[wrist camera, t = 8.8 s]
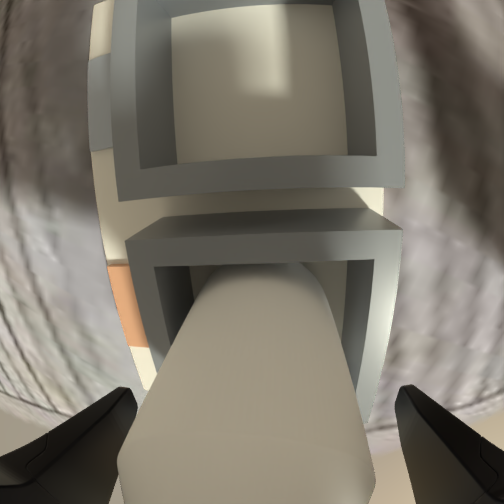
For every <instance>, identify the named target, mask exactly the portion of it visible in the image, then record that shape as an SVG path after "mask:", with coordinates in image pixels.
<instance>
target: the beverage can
mask: <svg viewBox="0 0 504 504" xmlns="http://www.w3.org/2000/svg"><path fill="white" fill-rule="evenodd" d="M117 467H118V473H119V479H120V485H121V490H122V494H123V500H124V504H368V503H369V500H370V498H371V496H372V493H373V490H374V488H375V482H376V479H375V473H374V468H373V464H372V459H371V454H370V450H369V446H368V441H367V437H366V433H365V429H364V425H363V421H362V417H361V413H360V409H359V405H358V401H357V398H356V394H355V390H354V386H353V383H352V379H351V376H350V372H349V368H348V365H347V361H346V358H345V355H344V351H343V348H342V344H341V341H340V338H339V334H338V331H337V328H336V325H335V321H334V318H333V315H332V312H331V309H330V306H329V303H328V300H327V297H326V295H325V292H324V290H323V288H322V286H321V284H320V283H319V281H318V280H317V279H316V277H315V276H314V275H313V274H312V273H311V272H310V271H309V270H308V269H307V268H306V267H304V266H303V265H302V264H300V263H298V262H291V263H263V264H232V265H221V266H220V267H219V268H218V269H217V270H215V271H214V272H213V273H212V274H211V276H210V277H209V278H208V279H207V281H206V282H205V284H204V286H203V287H202V289H201V291H200V293H199V294H198V296H197V298H196V300H195V302H194V304H193V306H192V307H191V309H190V311H189V313H188V315H187V317H186V319H185V321H184V323H183V325H182V326H181V328H180V330H179V332H178V334H177V336H176V338H175V340H174V342H173V344H172V346H171V348H170V350H169V352H168V354H167V356H166V358H165V359H164V361H163V363H162V365H161V367H160V369H159V371H158V373H157V375H156V377H155V379H154V381H153V383H152V385H151V387H150V389H149V391H148V393H147V395H146V397H145V399H144V401H143V404H142V406H141V408H140V410H139V412H138V414H137V416H136V418H135V420H134V422H133V424H132V426H131V428H130V430H129V432H128V435H127V437H126V439H125V441H124V443H123V445H122V447H121V449H120V452H119V454H118V457H117Z"/></svg>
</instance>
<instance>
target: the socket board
mask: <svg viewBox="0 0 504 504" xmlns="http://www.w3.org/2000/svg"><path fill="white" fill-rule="evenodd" d="M87 105H88V132H89V148H90V152H91V158H92V169H93V178H94V187H95V195H96V202H97V209H98V215H99V222H100V228H101V233H102V239H103V244H104V249H105V254H106V259H107V264H108V266H107V269H108V273H109V278H110V282H111V286H112V290H113V294H114V298H115V302H116V306H117V309H118V313H119V317H120V320H121V324H122V327H123V331H124V334H125V337H126V340H127V344H128V346H129V347H130V350H131V353H132V356H133V359H134V362H135V365H136V368H137V370H138V373H139V376H140V379H141V382H142V384H143V387H144V390H149V389H150V387H151V385H152V383H153V381H154V379H155V377H156V375H157V373H158V371H159V369H160V367H161V365H162V363H163V361H164V359H165V358H166V356H167V354H168V352H169V350H170V348H171V346H172V344H173V342H174V340H175V338H176V336H177V334H178V332H179V330H180V328H181V326H182V325H183V323H184V321H185V319H186V317H187V315H188V313H189V311H190V309H191V307H192V306H193V304H194V302H195V300H196V298H197V296H198V294H199V293H200V291H201V289H202V287H203V286H204V284H205V282H206V281H207V279H208V278H209V277H210V276H211V274H212V273H213V272H214V271H215V270H217V269H218V268H219V267H220V266H221V265H232V264H263V263H291V262H298V263H300V264H302V265H303V266H304V267H306V268H307V269H308V270H309V271H310V272H311V273H312V274H313V275H314V276H315V277H316V279H317V280H318V281H319V283H320V284H321V286H322V288H323V290H324V292H325V295H326V297H327V300H328V303H329V306H330V309H331V312H332V315H333V318H334V321H335V325H336V328H337V331H338V334H339V338H340V341H341V344H342V348H343V351H344V355H345V358H346V361H347V365H348V368H349V372H350V376H351V379H352V383H353V386H354V390H355V394H356V398H357V401H358V405H359V409H360V413H361V417H362V421H363V423H368V420H369V417H370V413H371V410H372V406H373V403H374V399H375V396H376V392H377V388H378V384H379V380H380V376H381V372H382V368H383V364H384V359H385V355H386V350H387V345H388V340H389V335H390V330H391V324H392V319H393V313H394V306H395V300H396V293H397V286H398V278H399V269H400V260H401V249H402V237H403V229H401V228H400V227H398V226H397V225H395V224H394V223H392V222H391V221H389V220H388V219H386V218H385V217H383V188H405V151H404V128H403V113H402V101H401V91H400V83H399V75H398V67H397V60H396V54H395V48H394V42H393V37H392V32H391V27H390V22H389V17H388V13H387V8H386V4H385V0H106V1H104V2H101V3H99V4H96V5H94V9H93V17H92V27H91V38H90V54H89V61H88V78H87Z"/></svg>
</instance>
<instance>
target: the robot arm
mask: <svg viewBox="0 0 504 504" xmlns="http://www.w3.org/2000/svg"><path fill="white" fill-rule="evenodd" d="M137 409H138V406H137V402H136V400H135V397H134V395H133V393H132V390H131V389H130V388H127V387H118V388H116V389H115V390H113V391H112V392H110V393H109V394H107V395H106V396H104V397H102V398H101V399H99V400H98V401H96V402H95V403H93V404H92V405H90V406H89V407H87V408H86V409H84V410H82V411H81V412H79V413H78V414H76V415H75V416H73V417H71V418H70V419H68V420H67V421H65V422H64V423H62V424H60V425H59V426H57V427H56V428H54V429H52V430H51V431H49V432H48V433H46V434H44V435H43V436H41V437H39V438H38V439H36V440H34V441H32V442H30V443H29V444H27V445H25V446H23V447H21V448H18V449H16V450H14V451H12V452H10V453H7V454H5V455H3V456H1V457H0V504H109V501H110V498H111V495H112V492H113V489H114V486H115V483H116V480H117V477H118V475H119V473H118V467H117V457H118V454H119V452H120V449H121V447H122V445H123V443H124V441H125V439H126V437H127V435H128V432H129V430H130V428H131V426H132V424H133V422H134V420H135V418H136V414H137ZM395 413H396V419H397V424H398V430H399V437H400V442H401V447H402V451H403V455H404V458H405V462H406V466H407V469H408V473H409V477H410V481H411V485H412V489H413V493H414V497H415V501H416V504H504V451H503V450H501V449H499V448H498V447H496V446H495V445H494V444H492V443H491V442H489V441H488V440H486V439H485V438H484V437H481V435H480V434H478V433H477V432H476V431H474V430H473V429H472V428H470V427H469V426H468V425H466V424H465V423H464V422H462V421H461V420H460V419H458V418H457V417H455V416H454V415H453V414H451V413H450V412H449V411H447V410H446V409H445V408H443V407H442V406H441V405H439V404H438V403H437V402H435V401H434V400H433V399H431V398H430V397H429V396H427V395H426V394H425V393H423V392H422V391H421V390H419V389H418V388H417V387H415V386H414V385H412V384H410V385H404V386H401V387H400V389H399V392H398V395H397V398H396V401H395Z"/></svg>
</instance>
